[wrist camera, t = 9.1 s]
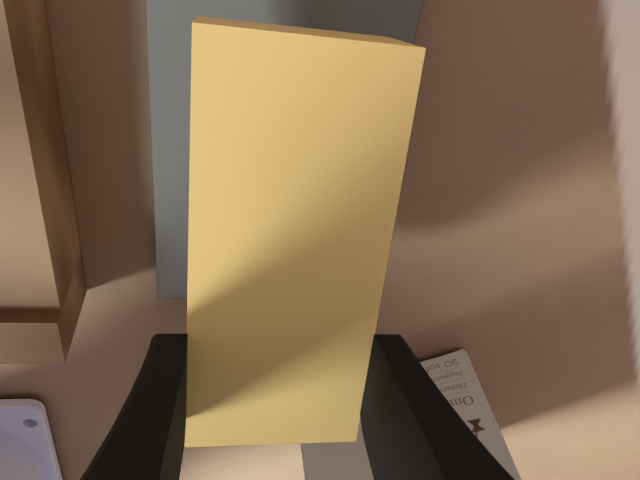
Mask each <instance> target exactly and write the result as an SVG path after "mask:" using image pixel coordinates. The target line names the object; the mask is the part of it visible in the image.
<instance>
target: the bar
mask: <svg viewBox="0 0 640 480" xmlns="http://www.w3.org/2000/svg"><path fill="white" fill-rule="evenodd" d="M425 51H426V48H425V47H421V46H418V45H414V44H411V43H407V42H404V41H400V40H397V39H393V38H390V37H384V36H375V35H366V34H357V33H349V32H340V31H331V30H322V29H313V28H304V27H295V26H286V25H277V24H268V23H259V22H250V21H241V20H232V19H223V18H214V17H205V16H197V17H196V19H195V20H194V21H193V22H192V45H191V103H190V162H189V220H188V279H187V334H188V343H187V398H186V429H185V447H210V446H239V445H268V444H297V443H326V442H355V441H356V438H357V432H358V427H359V421H360V410H361V404H362V399H363V393H364V387H365V382H366V376H367V370H368V365H369V359H370V354H371V348H372V342H373V337H374V335H375V331H376V326H377V320H378V314H379V309H380V303H381V298H382V292H383V286H384V281H385V275H386V270H387V264H388V258H389V253H390V247H391V242H392V236H393V230H394V225H395V219H396V214H397V208H398V202H399V197H400V191H401V186H402V180H403V174H404V169H405V163H406V158H407V152H408V146H409V141H410V135H411V130H412V124H413V118H414V113H415V107H416V102H417V96H418V90H419V85H420V79H421V74H422V68H423V62H424V57H425Z"/></svg>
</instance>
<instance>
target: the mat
mask: <svg viewBox="0 0 640 480" xmlns="http://www.w3.org/2000/svg"><path fill="white" fill-rule="evenodd" d="M422 4H423V0H146V24H147V48H148V72H149V97H150V121H151V146H152V170H153V195H154V219H155V243H156V268H157V292H158V298H180V299H187V279H188V220H189V162H190V103H191V45H192V22H193V21H194V20H195V19H196V17H197V16H205V17H214V18H223V19H232V20H241V21H250V22H259V23H268V24H277V25H286V26H295V27H304V28H313V29H322V30H331V31H340V32H349V33H357V34H366V35H375V36H384V37H390V38H393V39H397V40H400V41H404V42H407V43H411V44H413V42H414V38H415V33H416V29H417V25H418V21H419V17H420V13H421V9H422Z"/></svg>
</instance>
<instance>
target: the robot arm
mask: <svg viewBox="0 0 640 480" xmlns="http://www.w3.org/2000/svg"><path fill="white" fill-rule="evenodd" d="M187 343H188V334H157V335H155V336H154V337H152V340H151V343H150V347H149V350H148V352H147V355H146V358H145V360H144V363H143V365H142V368H141V370H140V372H139V375H138V377H137V379H136V381H135V383H134V385H133V388H132V390H131V392H130V394H129V396H128V398H127V400H126V401H125V403H124V405H123V407H122V409H121V411H120V413H119V415H118V417H117V419H116V421H115V423H114V424H113V426H112V428H111V430H110V431H109V433H108V435H107V437H106V438H105V440H104V442H103V443H102V445H101V447H100V448H99V450H98V452H97V453H96V455H95V457H94V458H93V460H92V462H91V463H90V465H89V467H88V468H87V470H86V471H85V473H84V474H83V476H82V478H81V479H80V480H179V475H180V469H181V463H182V456H183V450H184V443H185V429H186V398H187ZM360 419H361V426H362V433H363V438H364V443H365V447H366V451H367V455H368V459H369V463H370V467H371V470H372V474H373V478H374V480H515V479H514V478H513V477H512V476H511V475H510V474H509V473H508V472H507V471H506V470H505V469H504V468H503V467H502V466H501V464H500V463H499V462H498V461H497V460H496V459H495V458H494V457H493V456H492V454H491V453H490V452H489V451H488V450H487V449H486V447H485V446H484V445H483V444H482V443H481V442H480V440H479V439H478V438H477V437H476V436H475V435H474V433H473V432H472V431H471V430H470V428H469V427H468V426H467V425H466V423H465V422H464V421H463V420H462V418H461V417H460V416H459V415H458V413H457V412H456V411H455V409H454V408H453V407H452V406H451V404H450V403H449V402H448V400H447V399H446V398H445V396H444V395H443V394H442V392H441V391H440V390H439V388H438V387H437V386H436V384H435V383H434V381H433V380H432V379H431V377H430V376H429V375H428V373H427V372H426V370H425V369H424V368H423V366H422V365H421V363H420V362H419V360H418V359H417V358H416V356H415V355H414V353H413V352H412V350H411V349H410V347H409V346H408V345H407V343H406V342H405V340H404V339H403V338H402V336H401V335H374V337H373V342H372V348H371V354H370V359H369V365H368V370H367V376H366V382H365V387H364V393H363V399H362V404H361V410H360ZM0 480H63V479H62V475H61V471H60V467H59V463H58V459H57V455H56V451H55V447H54V443H53V439H52V434H51V430H50V426H49V422H48V418H47V414H46V410H45V407H44V405H43V404H42V403H41V402H40V401H38V400H35V399H0Z"/></svg>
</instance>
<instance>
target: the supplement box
mask: <svg viewBox="0 0 640 480" xmlns="http://www.w3.org/2000/svg"><path fill="white" fill-rule="evenodd" d="M420 363H421V365H422V366H423V368H424V369H425V370H426V372H427V373H428V375H429V376H430V377H431V379H432V380H433V381H434V383H435V384H436V386H437V387H438V388H439V390H440V391H441V392H442V394H443V395H444V396H445V398H446V399H447V400H448V402H449V403H450V404H451V406H452V407H453V408H454V409H455V411H456V412H457V413H458V415H459V416H460V417H461V418H462V420H463V421H464V422H465V423H466V425H467V426H468V427H469V428H470V430H471V431H472V432H473V433H474V435H475V436H476V437H477V438H478V439H479V440H480V442H481V443H482V444H483V445H484V446H485V447H486V449H487V450H488V451H489V452H490V453H491V454H492V456H493V457H494V458H495V459H496V460H497V461H498V462H499V463H500V464H501V466H502V467H503V468H504V469H505V470H506V471H507V472H508V473H509V474H510V475H511V476H512V477H513V478H514V479H515V480H521V478H520V475H519V473H518V471H517V468H516V466H515V464H514V462H513V459H512V457H511V455H510V452H509V450H508V447H507V445H506V443H505V440H504V438H503V436H502V433H501V431H500V429H499V426H498V424H497V422H496V419H495V417H494V415H493V412H492V410H491V408H490V406H489V403H488V401H487V399H486V396H485V394H484V392H483V389H482V387H481V385H480V382H479V380H478V378H477V375H476V373H475V371H474V368H473V366H472V363H471V361H470V358H469V356H468V354H467V352H466V350H464V349H460V350H458V351H455V352H453V353H449V354H446V355H443V356H440V357H436V358H433V359H429V360H425V361H421V362H420ZM301 450H302V459H303V467H304V475H305V480H374V478H373V474H372V470H371V467H370V463H369V459H368V455H367V451H366V447H365V443H364V438H363V433H362V426H361V419H360V421H359V427H358V432H357V438H356V441H355V442H326V443H301Z"/></svg>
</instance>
